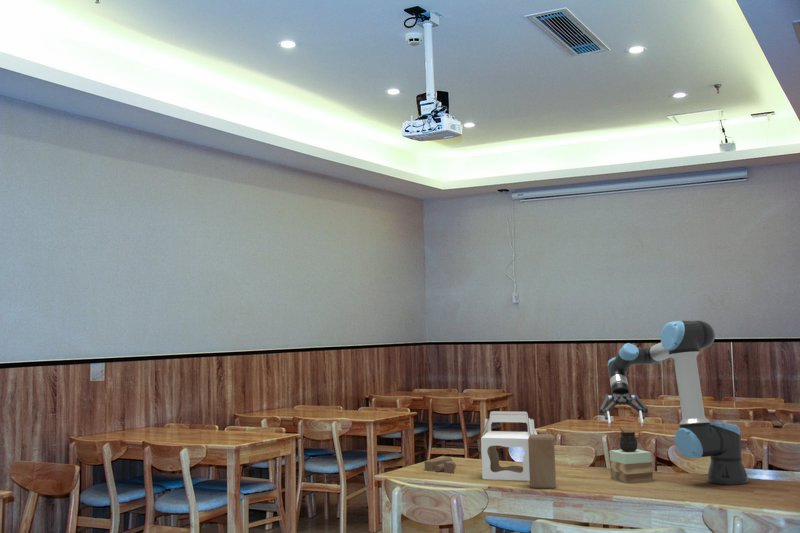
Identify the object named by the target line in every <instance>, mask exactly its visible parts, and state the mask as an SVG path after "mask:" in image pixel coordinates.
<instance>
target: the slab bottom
mask: <svg viewBox="0 0 800 533" xmlns="http://www.w3.org/2000/svg"><path fill="white" fill-rule="evenodd" d="M653 477H654V476H653V472H650V473H638V474H624V473H620V472H616V471H612V470H611V469H610V479H611V480H613V481H617V482H620V483H624V484H635V483H637V484H638V483H646V482H647V483H649V482H650V483H651V482H653V481H654V479H653Z"/></svg>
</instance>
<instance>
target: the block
mask: <svg viewBox="0 0 800 533" xmlns="http://www.w3.org/2000/svg"><path fill="white" fill-rule="evenodd" d="M528 448H529V474H530V481H529V486H530V488H532V489H554V488H556V486H557V478H556V456H555V455H556V454H555V453H556V452H555V436H554V434H551V433H549V434H547V433H546V434H544V433H542V434H541V433H540V434H539V433H537V434H531V435H530V436H529V438H528Z"/></svg>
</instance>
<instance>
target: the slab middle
mask: <svg viewBox="0 0 800 533" xmlns="http://www.w3.org/2000/svg"><path fill="white" fill-rule="evenodd" d="M609 461H610V471H611V470H612V471H616V472H620V473H624V474H638V473H650V472H652V473H653V472H654V471H653V470H654V469H653V461H651V462H648V463H635V464H623V463H619V462H615V461H611V460H610V459H609Z"/></svg>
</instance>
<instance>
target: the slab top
mask: <svg viewBox="0 0 800 533" xmlns="http://www.w3.org/2000/svg"><path fill="white" fill-rule="evenodd" d="M610 460H611V461H615V462H619V463H623V464H635V463H648V462H652V452H651V451H646V450H643V449H642V450H641V449H638V448H637V449H636V450H635V451H634V452H625V451H623V450H622V449H612V450H609V461H610Z"/></svg>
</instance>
